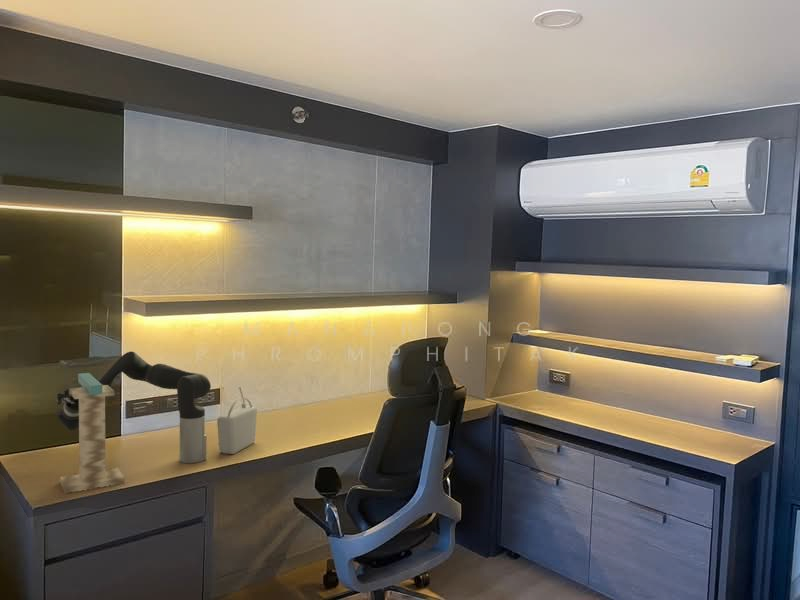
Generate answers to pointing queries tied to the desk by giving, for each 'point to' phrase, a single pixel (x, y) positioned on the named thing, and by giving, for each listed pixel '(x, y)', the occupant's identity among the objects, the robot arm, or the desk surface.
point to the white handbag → (237, 428)
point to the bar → (90, 383)
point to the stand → (91, 444)
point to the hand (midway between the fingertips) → (80, 390)
